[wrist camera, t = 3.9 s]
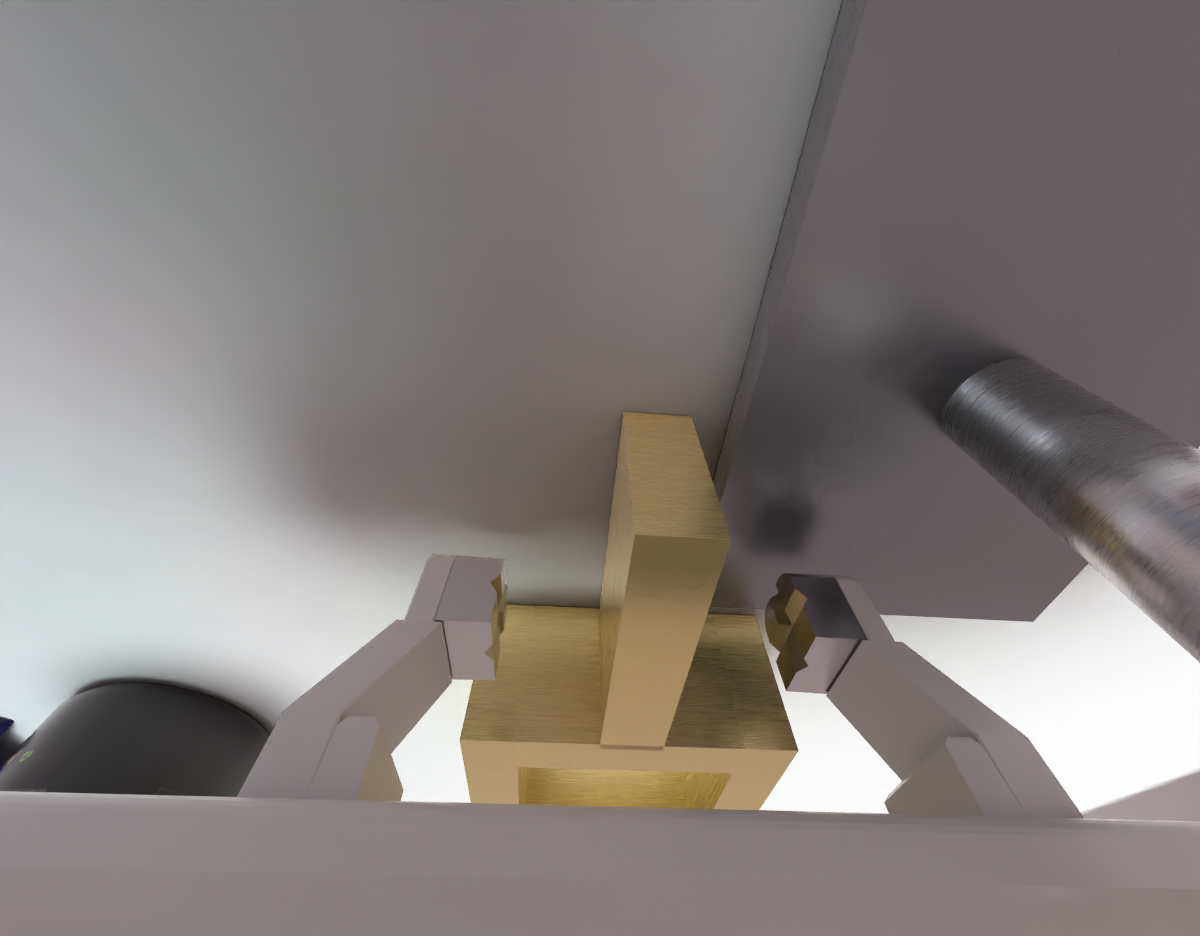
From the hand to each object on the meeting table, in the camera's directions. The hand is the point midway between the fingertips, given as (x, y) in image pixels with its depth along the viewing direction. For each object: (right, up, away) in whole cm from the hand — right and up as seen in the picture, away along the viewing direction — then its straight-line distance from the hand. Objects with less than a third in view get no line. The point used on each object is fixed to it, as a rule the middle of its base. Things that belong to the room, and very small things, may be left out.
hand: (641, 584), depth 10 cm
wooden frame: (0, -2, +3) cm, 4 cm away
